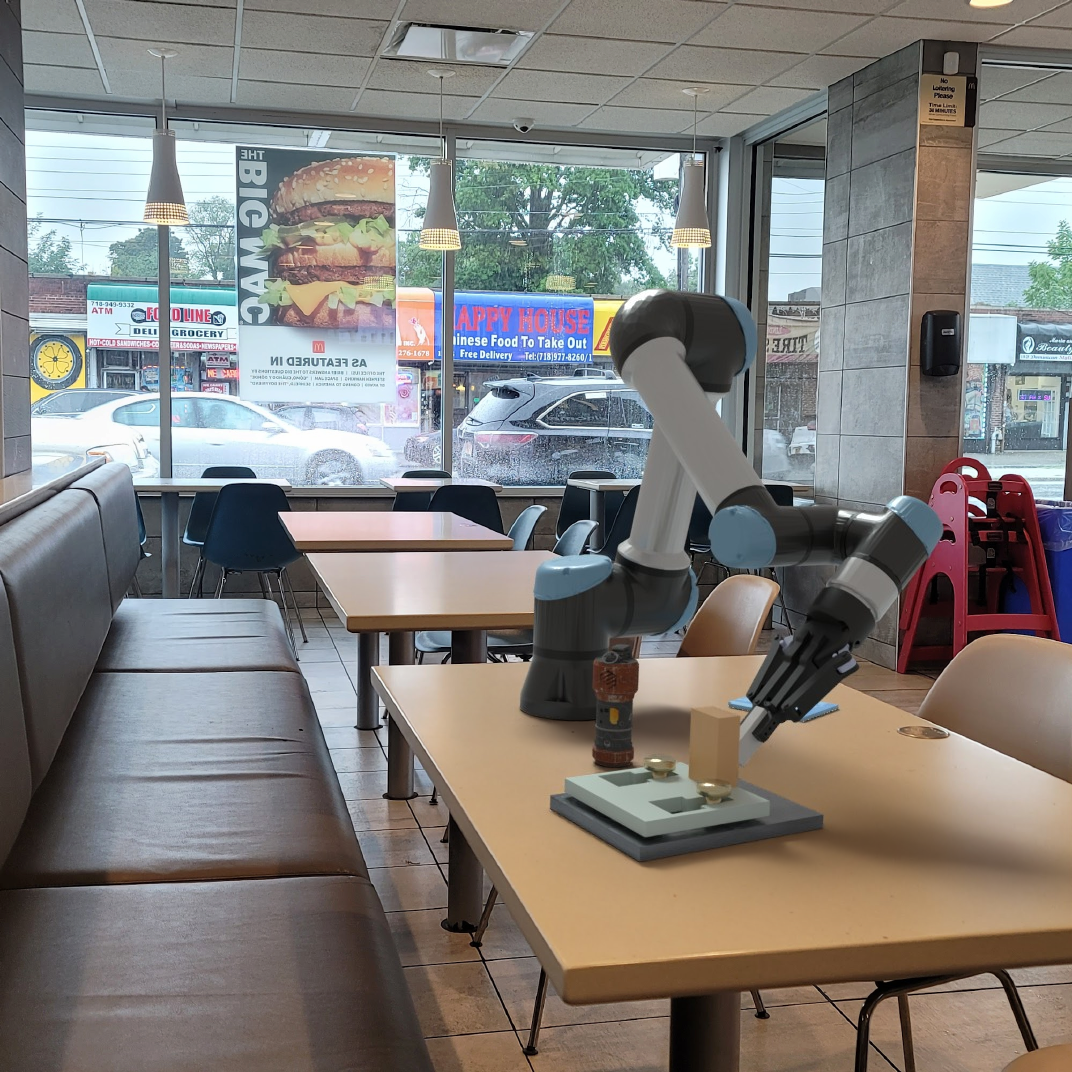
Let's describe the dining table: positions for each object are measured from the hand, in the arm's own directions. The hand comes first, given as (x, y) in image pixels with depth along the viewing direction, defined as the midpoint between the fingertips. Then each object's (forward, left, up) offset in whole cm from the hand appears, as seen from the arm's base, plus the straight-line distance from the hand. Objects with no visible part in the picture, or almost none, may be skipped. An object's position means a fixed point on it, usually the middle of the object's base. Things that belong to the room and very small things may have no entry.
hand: (733, 758), depth 130 cm
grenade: (-22, -1, -6) cm, 23 cm away
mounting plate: (0, -6, -6) cm, 9 cm away
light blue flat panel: (-37, +40, -7) cm, 55 cm away
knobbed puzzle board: (0, -9, -4) cm, 10 cm away
